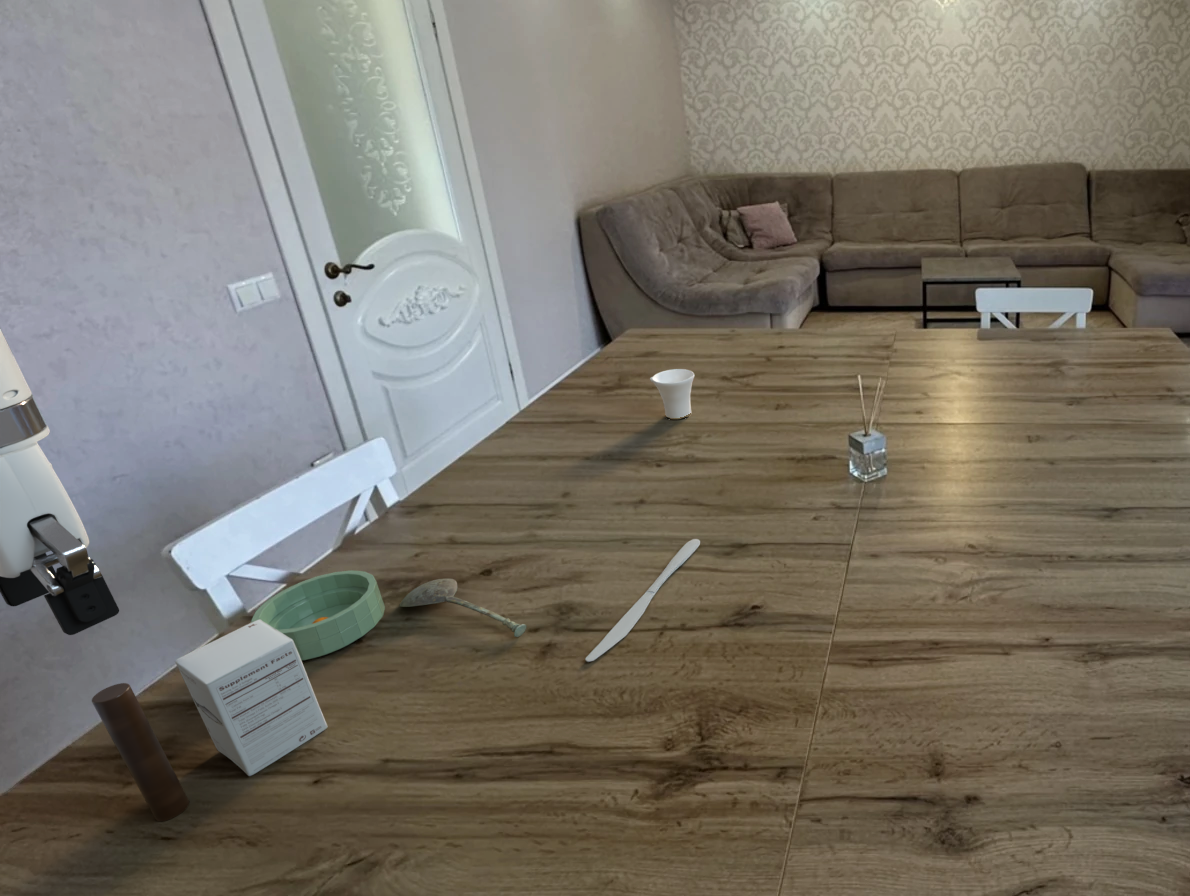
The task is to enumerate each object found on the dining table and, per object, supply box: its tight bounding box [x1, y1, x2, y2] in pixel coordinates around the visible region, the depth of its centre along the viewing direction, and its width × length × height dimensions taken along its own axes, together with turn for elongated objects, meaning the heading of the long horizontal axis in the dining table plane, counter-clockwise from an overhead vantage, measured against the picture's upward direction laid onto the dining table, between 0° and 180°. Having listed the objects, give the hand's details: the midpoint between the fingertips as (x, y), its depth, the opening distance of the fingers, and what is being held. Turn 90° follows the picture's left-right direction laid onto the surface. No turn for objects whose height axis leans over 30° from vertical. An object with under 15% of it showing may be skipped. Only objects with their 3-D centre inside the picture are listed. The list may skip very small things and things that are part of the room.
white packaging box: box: [174, 620, 328, 777], centre depth 76 cm, size 7×7×13 cm
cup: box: [649, 368, 695, 418], centre depth 158 cm, size 9×9×10 cm
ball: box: [312, 617, 328, 624], centre depth 93 cm, size 2×2×2 cm
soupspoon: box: [399, 578, 528, 638], centre depth 97 cm, size 22×3×7 cm
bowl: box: [250, 569, 386, 662], centre depth 94 cm, size 13×13×5 cm
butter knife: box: [585, 538, 701, 663], centre depth 101 cm, size 1×27×3 cm
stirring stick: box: [91, 682, 190, 822], centre depth 68 cm, size 2×2×15 cm
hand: (64, 609), depth 62 cm, fingers open, 9 cm apart
